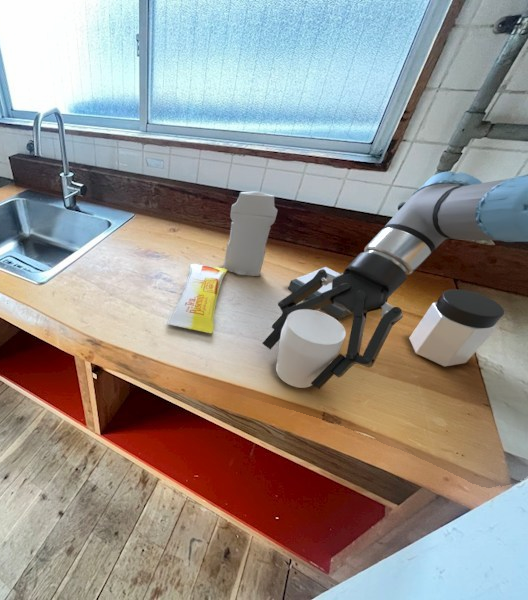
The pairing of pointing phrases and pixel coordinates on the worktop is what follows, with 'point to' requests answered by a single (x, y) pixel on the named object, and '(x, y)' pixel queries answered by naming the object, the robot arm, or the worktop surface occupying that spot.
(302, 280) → the scale
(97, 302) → the worktop surface
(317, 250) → the worktop surface
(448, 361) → the jar
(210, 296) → the food package
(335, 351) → the cup
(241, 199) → the tall pale column
